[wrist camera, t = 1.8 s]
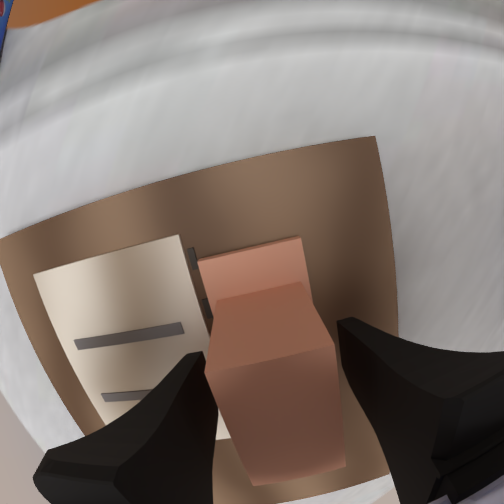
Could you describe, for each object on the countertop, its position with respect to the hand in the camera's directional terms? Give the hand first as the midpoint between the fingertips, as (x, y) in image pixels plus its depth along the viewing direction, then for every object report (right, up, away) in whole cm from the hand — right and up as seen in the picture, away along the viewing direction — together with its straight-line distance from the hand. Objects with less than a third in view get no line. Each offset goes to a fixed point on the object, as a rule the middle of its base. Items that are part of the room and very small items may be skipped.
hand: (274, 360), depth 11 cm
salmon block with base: (0, 0, +1) cm, 1 cm away
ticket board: (-2, -3, +3) cm, 5 cm away
